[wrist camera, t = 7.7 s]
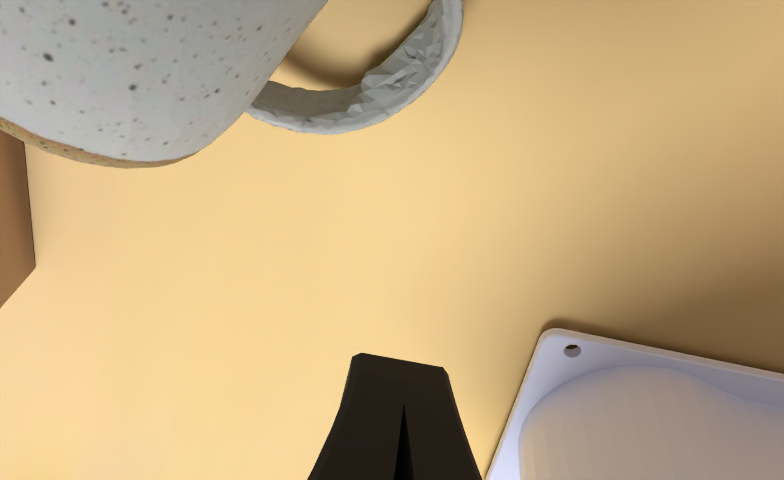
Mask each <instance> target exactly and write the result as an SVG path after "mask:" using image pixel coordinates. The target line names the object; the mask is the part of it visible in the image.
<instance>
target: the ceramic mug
mask: <svg viewBox="0 0 784 480" xmlns="http://www.w3.org/2000/svg"><path fill="white" fill-rule="evenodd" d="M327 1H328V0H0V129H1V130H3V131H5V132H6V133H8V134H10V135H12V136H14V137H16V138H18V139H20V140H22V141H23V142H25V143H28V144H30V145H32V146H34V147H37V148H39V149H41V150H44V151H46V152H48V153H51V154H55V155H58V156H61V157H64V158H68V159H71V160H74V161H78V162H82V163H88V164H94V165H99V166H106V167H116V168H125V169H126V168H150V167H160V166H165V165H169V164H173V163H176V162H179V161H181V160H183V159H185V158H188V157H190V156H192V155H194V154H196V153H197V152H199V151H200V150H202V149H203V148H205V147H206V146H208V145H209V144H211V143H212V142H213V141H214V140H215V139H217V138H218V137H219V136H220V135H221V134H222V133H223V132H224V131H226V130H227V129H228V128H229V127H230V126H231V125H232V124H233V123H234V122H235V121H236V120H237V119H238V118H239V117H240V116H241V115H242V114H243V113H244V112H246V113H249V114H250V115H251V116H252V117H254V118H255V119H258V120H261V121H264V122H266V123H268V124H270V125H272V126H276V127H281V128H285V129H288V130H291V131H294V132H301V133H313V134H323V135H334V134H341V133H345V132H350V131H355V130H359V129H363V128H365V127H368V126H371V125H374V124H377V123H380V122H382V121H384V120H386V119H388V118H389V117H391V116H393V115H394V114H396V113H398V112H399V111H400V110H402V109H403V108H404V107H405V106H407V105H409V104H411V103H412V102H413V101H415V100H416V99H417V98H418V97H419V96H420V95H421V94H422V93H423V92H424V91H425V90H426V89H427V88H428V87H429V86H430V85H431V84H432V83H433V82H434V81H435V80H436V79H437V77H438V76H439V75H440V74H441V72H442V71H443V70H444V69H445V67H446V66H447V64H448V63H449V61H450V59H451V58H452V56H453V55H454V52H455V50H456V48H457V45H458V43H459V40H460V36H461V33H462V26H463V15H464V11H463V0H433V2H432V3H431V4H430V5H429V8H428V13H427V16H426V17H425V18H424V19H423V20H422V21H421V23H420V24H419V26H418V27H417V28H416V29H415V30H414V31H413V32H412V33H411V34H410V35H409V36H408V37H407V38H406V39H405V40H404V41H403V42H402V43H401V44H400V45H399V47H398V48H397V49H396V50H395V51H394V52H393V53H392V54H391V55H390V56H389V57H388V58H387V59H386V60H384V61H383V62H382V63H381V64H380V65H379V66H377V67H375V68H373V69H371V70H368V71H367V72H366V73H365V75H364V77H363V79H362V81H361V83H359V84H356V85H353V86H350V87H347V88H341V89H334V90H324V91H315V90H306V89H303V88H291V87H288V86H285V85H283V84H280V83H277V82H273V81H269V78H270V77H271V75H272V74H273V72H274V71H275V70H276V68H277V67H278V65H279V64H280V63H281V61H282V60H283V58H284V57H285V56H286V54H287V53H288V51H289V50H290V49H291V47H292V46H293V44H294V43H295V42H296V40H297V39H298V37H299V36H300V35H301V33H302V32H303V31H304V30H305V29H306V27H307V26H308V25H309V24H310V23H311V21H312V20H313V19H314V18H315V16H316V15H317V14H318V13H319V11H320V10H321V9H322V8H323V6H324V5H325V4H326V3H327Z"/></svg>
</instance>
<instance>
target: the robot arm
mask: <svg viewBox="0 0 784 480" xmlns="http://www.w3.org/2000/svg"><path fill="white" fill-rule="evenodd" d="M568 345H577V346H578V347H577V348H574V349H567V348H565V347H566V346H568ZM307 480H482V477H481V475H480V473H479V470H478V467H477V465H476V462H475V459H474V457H473V454H472V451H471V448H470V445H469V442H468V439H467V437H466V434H465V431H464V428H463V425H462V422H461V419H460V415H459V412H458V409H457V406H456V402H455V399H454V395H453V392H452V388H451V384H450V380H449V376H448V374H447V372H446V371H445V370H444V368H443V367H438V366H432V365H427V364H421V363H416V362H410V361H405V360H399V359H394V358H388V357H382V356H377V355H371V354H366V353H360V354H357V355H355V356H353V357H352V360H351V364H350V368H349V372H348V376H347V380H346V384H345V388H344V392H343V396H342V400H341V404H340V408H339V410H338V413H337V416H336V418H335V421H334V423H333V426H332V428H331V431H330V433H329V435H328V437H327V439H326V441H325V444H324V446H323V448H322V450H321V452H320V454H319V457H318V459H317V461H316V463H315V465H314V467H313V469H312V471H311V473H310V475H309V477H308V479H307ZM485 480H784V374H782V373H777V372H772V371H767V370H762V369H757V368H753V367H748V366H743V365H738V364H733V363H728V362H723V361H718V360H713V359H708V358H704V357H699V356H694V355H689V354H684V353H679V352H674V351H669V350H664V349H659V348H655V347H650V346H645V345H640V344H635V343H630V342H625V341H620V340H615V339H610V338H606V337H601V336H596V335H591V334H586V333H581V332H576V331H571V330H566V329H561V328H552V329H548V330H546V331H545V332H543V333H542V335H541V336H540V338H539V341H538V343H537V346H536V348H535V351H534V354H533V356H532V359H531V361H530V364H529V367H528V369H527V372H526V374H525V377H524V380H523V382H522V385H521V387H520V390H519V392H518V395H517V398H516V400H515V403H514V405H513V408H512V411H511V413H510V416H509V418H508V421H507V424H506V426H505V429H504V431H503V434H502V437H501V439H500V442H499V444H498V447H497V450H496V452H495V455H494V457H493V460H492V463H491V465H490V468H489V470H488V473H487V476H486V478H485Z"/></svg>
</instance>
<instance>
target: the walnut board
mask: <svg viewBox="0 0 784 480" xmlns="http://www.w3.org/2000/svg"><path fill="white" fill-rule="evenodd" d="M34 269H35V259H34V248H33V238H32V227H31V216H30V205H29V195H28V184H27V173H26V163H25V152H24V142H23V141H22V140H20V139H18V138H16V137H14V136H12V135H10V134H8V133H6V132H5V131H3V130H1V129H0V308H1V307H2V306H3V304H4V303H5V302H6V301H7V300H8V299H9V298H10V296H11V295H12V294H13V293H14V292H15V291H16V290H17V288H18V287H19V286H20V285H21V284H22V283H23V282H24V280H25V279H26V278H27V277H28V276H29V275H30V273H31V272H32V271H33V270H34Z"/></svg>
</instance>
